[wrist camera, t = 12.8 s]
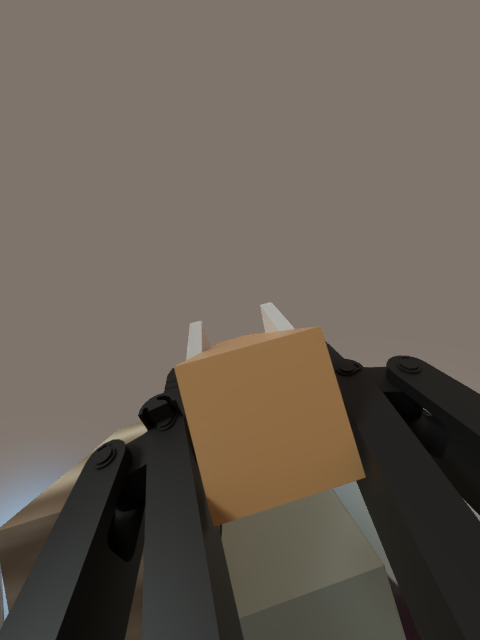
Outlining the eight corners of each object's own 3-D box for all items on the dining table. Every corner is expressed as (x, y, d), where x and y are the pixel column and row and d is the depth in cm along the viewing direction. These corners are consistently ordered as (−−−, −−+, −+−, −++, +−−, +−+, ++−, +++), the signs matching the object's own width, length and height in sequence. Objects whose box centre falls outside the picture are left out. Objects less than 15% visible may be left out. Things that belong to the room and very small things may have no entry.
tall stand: (296, 983, 13) (174, 475, 15) (94, 1083, 12) (-6, 532, 14) (259, 622, 29) (203, 403, 30) (172, 654, 28) (120, 427, 30)
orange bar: (365, 477, 5) (320, 326, 6) (213, 527, 5) (174, 366, 5) (256, 362, 29) (248, 334, 30) (228, 370, 29) (220, 342, 29)
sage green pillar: (480, 891, 13) (384, 565, 15) (303, 979, 13) (217, 626, 14) (344, 590, 29) (304, 446, 31) (262, 620, 29) (224, 472, 30)
